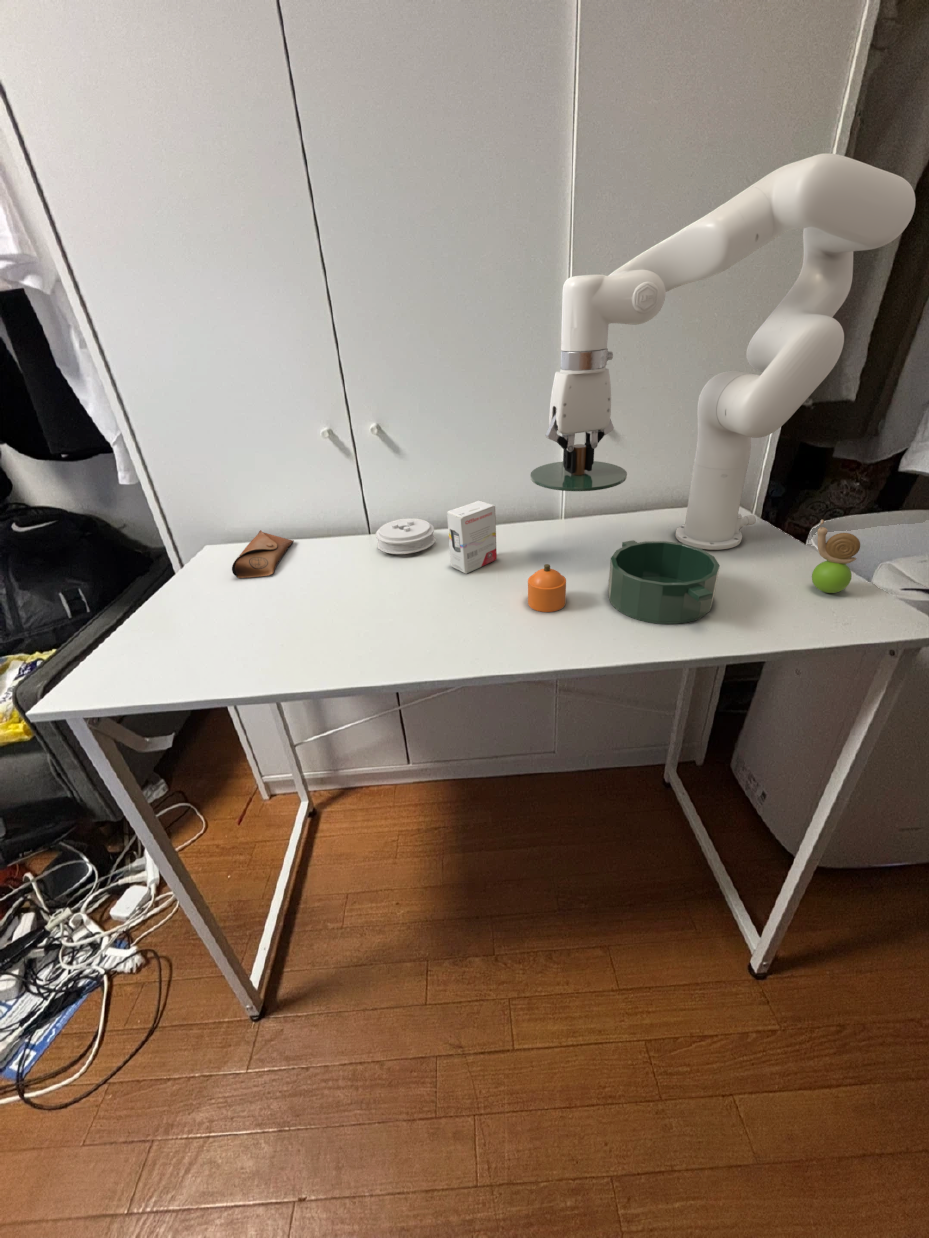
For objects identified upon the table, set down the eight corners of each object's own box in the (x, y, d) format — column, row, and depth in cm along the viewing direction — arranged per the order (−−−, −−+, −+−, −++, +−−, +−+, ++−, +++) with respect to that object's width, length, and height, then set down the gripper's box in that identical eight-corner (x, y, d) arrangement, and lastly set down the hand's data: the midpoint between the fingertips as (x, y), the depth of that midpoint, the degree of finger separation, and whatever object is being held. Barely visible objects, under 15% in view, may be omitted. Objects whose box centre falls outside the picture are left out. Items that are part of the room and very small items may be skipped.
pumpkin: (556, 591, 97) (556, 554, 94) (571, 607, 92) (573, 569, 88) (522, 598, 96) (522, 561, 92) (536, 615, 91) (536, 576, 87)
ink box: (482, 553, 113) (479, 499, 107) (498, 561, 110) (496, 504, 104) (449, 567, 109) (444, 510, 103) (465, 575, 105) (461, 517, 99)
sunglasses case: (275, 573, 110) (250, 549, 107) (250, 591, 112) (225, 567, 109) (295, 539, 126) (274, 517, 123) (273, 555, 128) (252, 534, 125)
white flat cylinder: (440, 534, 124) (438, 513, 121) (429, 558, 113) (426, 535, 110) (386, 535, 126) (383, 514, 123) (370, 558, 115) (367, 536, 113)
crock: (664, 564, 103) (668, 529, 100) (745, 620, 85) (755, 580, 81) (584, 580, 100) (586, 545, 96) (651, 641, 82) (657, 601, 78)
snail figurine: (802, 580, 95) (821, 514, 88) (846, 587, 92) (868, 519, 85) (800, 593, 91) (819, 526, 85) (845, 601, 88) (869, 532, 82)
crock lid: (597, 462, 111) (599, 430, 108) (645, 486, 96) (649, 450, 93) (516, 474, 107) (516, 441, 104) (553, 500, 93) (554, 464, 89)
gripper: (615, 355, 96) (607, 460, 106) (529, 364, 93) (529, 471, 102) (638, 359, 90) (627, 469, 99) (547, 368, 87) (545, 482, 96)
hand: (578, 469), depth 101 cm, fingers closed on crock lid, 2 cm apart
